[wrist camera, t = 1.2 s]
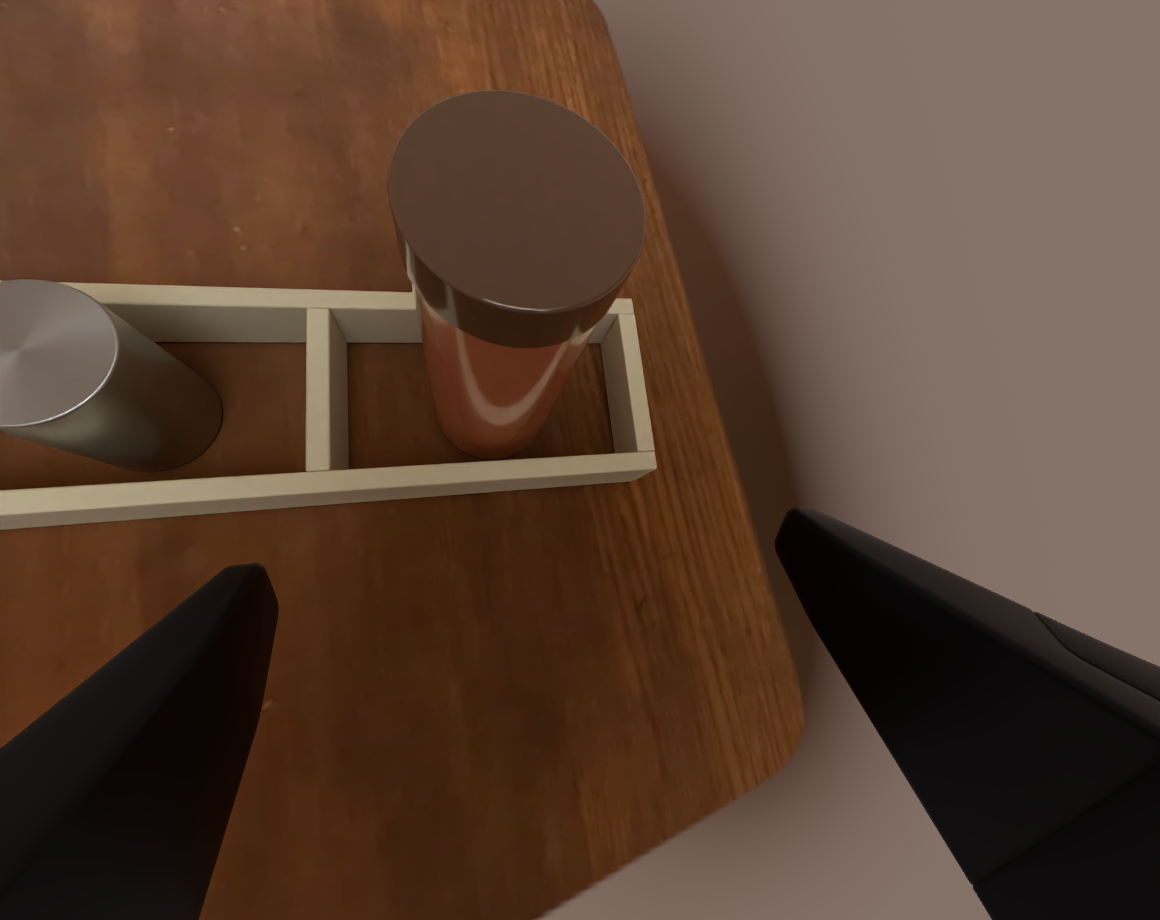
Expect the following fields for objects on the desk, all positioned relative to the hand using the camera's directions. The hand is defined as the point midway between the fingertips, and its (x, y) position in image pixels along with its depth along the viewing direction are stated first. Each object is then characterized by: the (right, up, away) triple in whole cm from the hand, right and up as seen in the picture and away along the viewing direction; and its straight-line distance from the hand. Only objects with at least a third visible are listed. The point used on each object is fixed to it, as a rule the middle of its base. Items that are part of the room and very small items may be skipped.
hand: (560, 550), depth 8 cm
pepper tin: (-16, +3, +10) cm, 20 cm away
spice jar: (-4, +4, +14) cm, 15 cm away
